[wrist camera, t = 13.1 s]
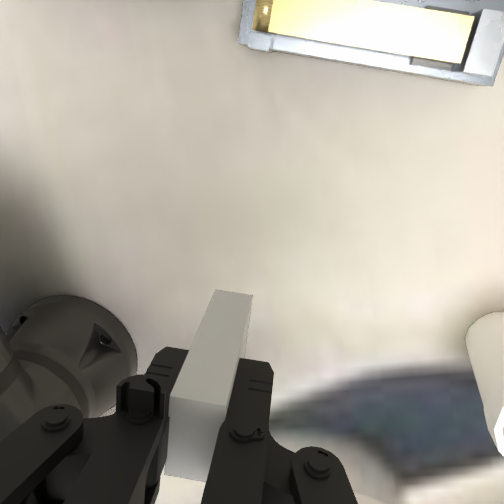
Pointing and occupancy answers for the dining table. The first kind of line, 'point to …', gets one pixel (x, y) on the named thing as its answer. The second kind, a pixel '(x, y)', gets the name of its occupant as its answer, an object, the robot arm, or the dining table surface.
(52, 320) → the robot arm
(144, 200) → the dining table surface
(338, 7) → the bar
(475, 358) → the foam cup
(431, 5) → the base
